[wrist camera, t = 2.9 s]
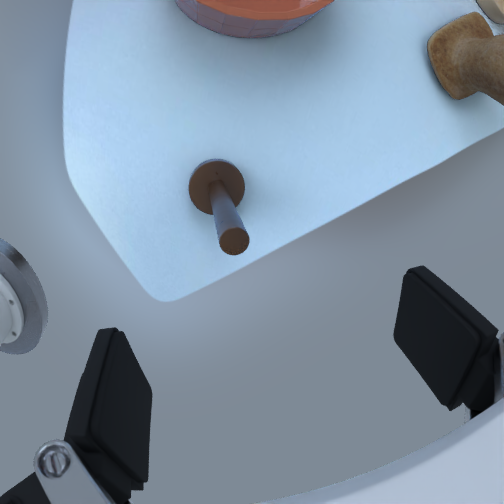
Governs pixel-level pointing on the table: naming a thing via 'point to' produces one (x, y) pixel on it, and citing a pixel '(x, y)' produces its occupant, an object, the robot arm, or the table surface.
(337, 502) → the robot arm
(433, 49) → the stone cup
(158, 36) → the table surface
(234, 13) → the bowl
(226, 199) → the brown disc-based tamper
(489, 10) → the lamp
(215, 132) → the table surface
